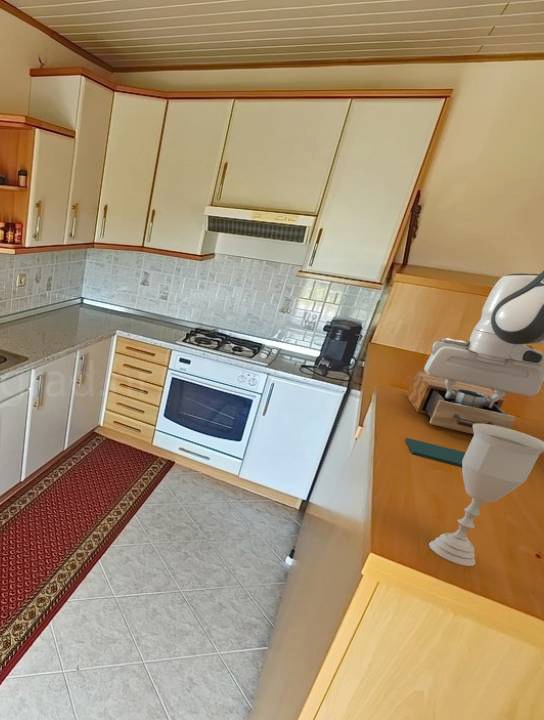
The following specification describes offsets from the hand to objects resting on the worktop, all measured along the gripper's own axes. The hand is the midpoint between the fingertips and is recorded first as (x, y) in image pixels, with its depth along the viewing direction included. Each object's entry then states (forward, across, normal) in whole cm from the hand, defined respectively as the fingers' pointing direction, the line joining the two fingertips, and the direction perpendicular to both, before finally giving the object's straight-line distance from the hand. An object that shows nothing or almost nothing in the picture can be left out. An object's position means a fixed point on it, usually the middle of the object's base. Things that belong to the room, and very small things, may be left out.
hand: (467, 402), depth 114 cm
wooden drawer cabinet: (+6, 0, +12) cm, 13 cm away
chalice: (+6, -14, -65) cm, 67 cm away
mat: (+6, -6, -24) cm, 26 cm away
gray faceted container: (+4, 0, 0) cm, 4 cm away
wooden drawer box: (+5, 0, -2) cm, 6 cm away
